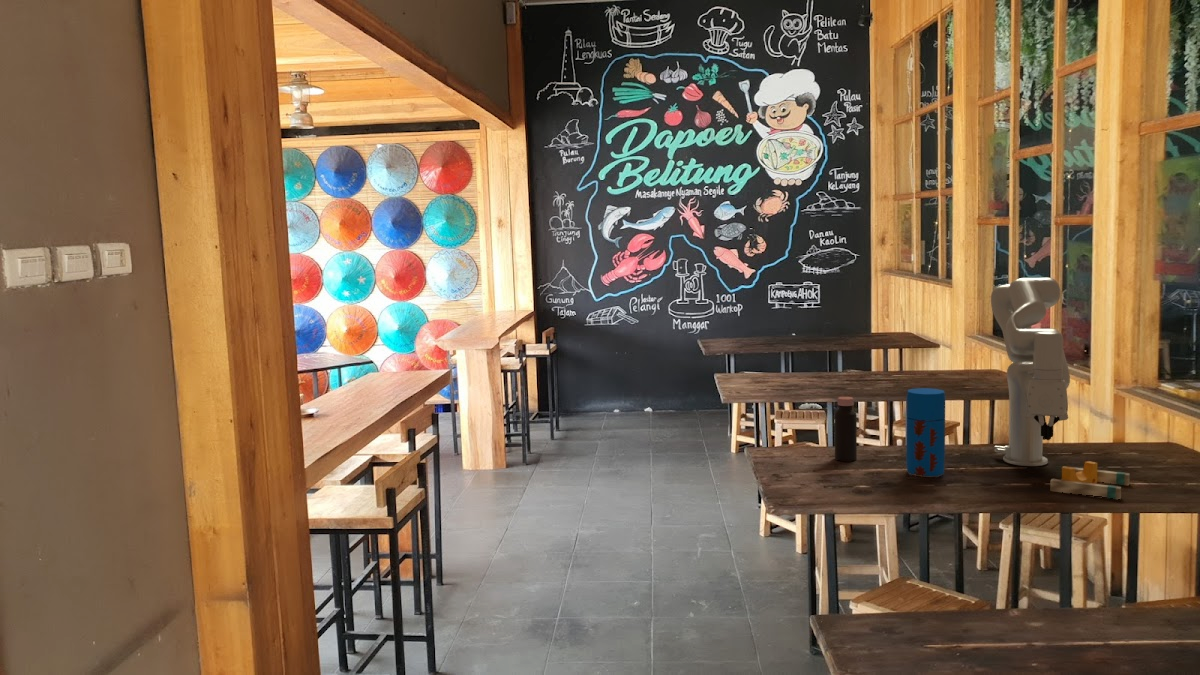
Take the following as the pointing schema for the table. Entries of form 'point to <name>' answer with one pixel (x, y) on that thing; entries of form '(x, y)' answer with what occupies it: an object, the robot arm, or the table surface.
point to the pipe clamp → (1081, 473)
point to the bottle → (845, 430)
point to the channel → (1091, 488)
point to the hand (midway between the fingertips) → (1046, 439)
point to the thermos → (926, 431)
